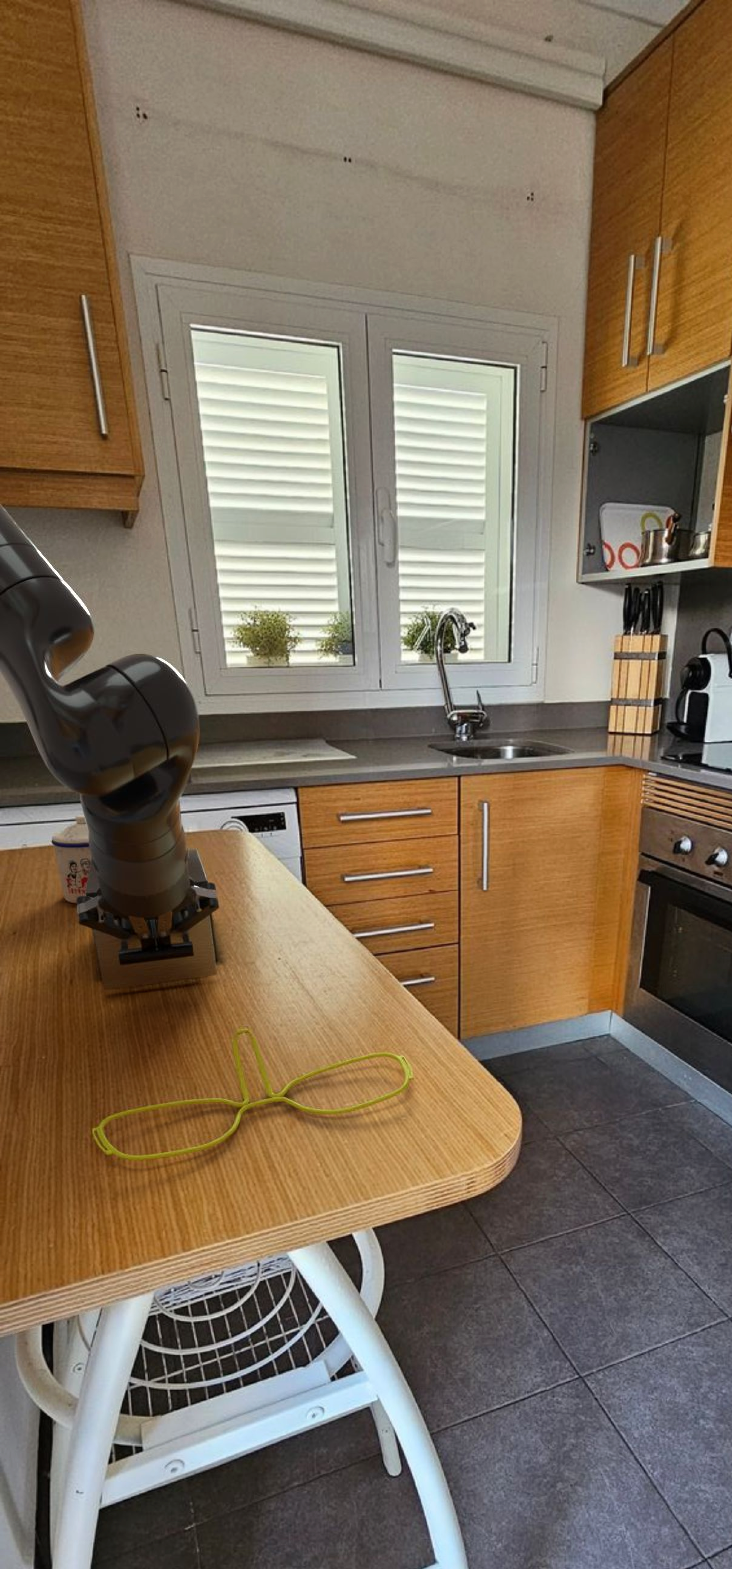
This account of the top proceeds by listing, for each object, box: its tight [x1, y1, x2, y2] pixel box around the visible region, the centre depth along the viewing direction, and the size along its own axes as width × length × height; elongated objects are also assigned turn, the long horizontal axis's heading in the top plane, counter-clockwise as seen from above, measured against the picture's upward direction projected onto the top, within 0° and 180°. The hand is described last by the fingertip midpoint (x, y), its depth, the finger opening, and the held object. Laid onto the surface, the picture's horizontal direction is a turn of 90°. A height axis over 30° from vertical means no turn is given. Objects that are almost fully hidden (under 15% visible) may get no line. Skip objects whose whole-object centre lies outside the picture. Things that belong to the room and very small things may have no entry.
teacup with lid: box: [51, 814, 92, 905], centre depth 120 cm, size 12×9×12 cm
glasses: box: [91, 1028, 415, 1162], centre depth 66 cm, size 25×10×5 cm, turn 116°
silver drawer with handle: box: [92, 911, 218, 991], centre depth 91 cm, size 19×11×8 cm, turn 20°
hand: (156, 944), depth 86 cm, fingers closed
